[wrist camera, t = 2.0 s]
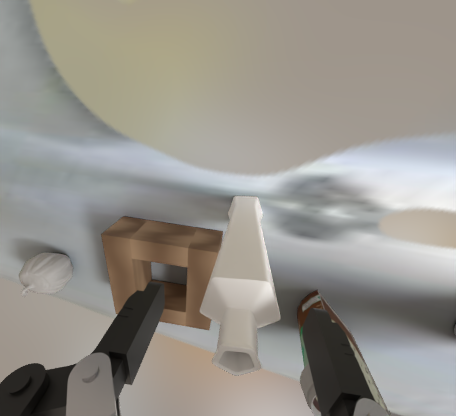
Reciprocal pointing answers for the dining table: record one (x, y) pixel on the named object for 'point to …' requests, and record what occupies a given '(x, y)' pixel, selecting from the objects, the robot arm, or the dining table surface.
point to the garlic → (46, 273)
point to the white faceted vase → (241, 289)
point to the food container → (306, 378)
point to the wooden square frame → (167, 254)
